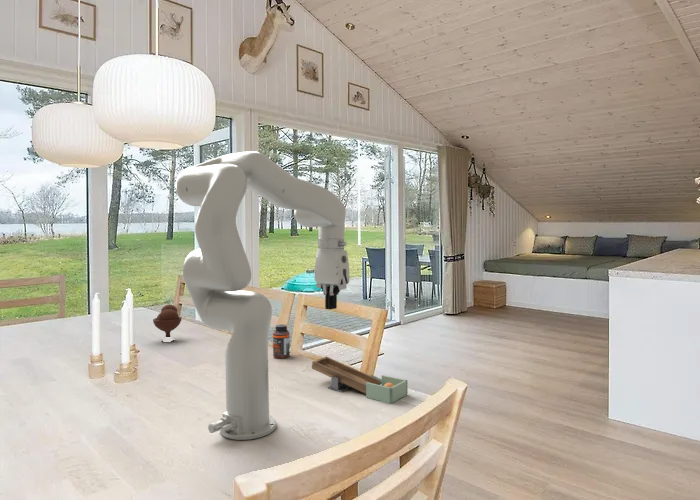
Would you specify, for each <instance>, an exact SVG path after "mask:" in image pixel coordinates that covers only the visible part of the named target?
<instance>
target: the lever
mask: <svg viewBox="0 0 700 500" xmlns="http://www.w3.org/2000/svg"><path fill="white" fill-rule="evenodd" d="M311 370H314V371H316V372H319V373H321V374H323V375H325V376H326V377H329V378H331V377H333V376H335V377H339V378H340V382H342V383H344V384H346V385H348V386H350V387H352V388H353V389H355V390H357V391H359V392H361V393H363V394H365V395H366V383H367V382H368V383H373V384H377V385H381V386H382V378H381V377H380V378H379V377H377V376H375V375H372V374H371V375H370V374H368V373H364V372H363V371H360V370H358V369H355V367H351V366H349V365H347V364H344V363H342V362H339V361H337V360H335V359H333V358H331V357H328V356H324V357H321V358H319V359H318V358H317V359H315V360H313V361H312V363H311ZM352 388H351V389H352Z"/></svg>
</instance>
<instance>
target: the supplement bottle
mask: <svg viewBox="0 0 700 500" xmlns="http://www.w3.org/2000/svg"><path fill="white" fill-rule="evenodd" d="M290 336H291V335H290V331H289V330H288V327H287V324H283V323H282V324H276V325H275V330H274V331H273V333H272V355H273V358H276V359H285V358H286V357H287V358H289V357H290V356H291V354H290V353H291V352H290V351H291V350H290V349H291V348H290V346H291V345H290V343H291V342H290V340H291V338H290Z"/></svg>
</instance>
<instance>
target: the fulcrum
mask: <svg viewBox="0 0 700 500" xmlns="http://www.w3.org/2000/svg"><path fill="white" fill-rule="evenodd" d="M330 379H331V385H330V386H327V390H332V391H335V392H340V393H343V392H345V391H347V389H348V390H350V389H352V388H351V387H350V386H348V385H346V384H344V383H342V382H340V378H339V377H335V376H333V377H330ZM349 388H350V389H349Z"/></svg>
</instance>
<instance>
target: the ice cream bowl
mask: <svg viewBox="0 0 700 500" xmlns="http://www.w3.org/2000/svg"><path fill="white" fill-rule="evenodd" d="M152 322H153V324H154V326H155V327H156V328H157V329H158V330H160V331H162V332H164V333H165V337H171V332H172V331H174V330H175V329H177V328H178V327H179V326H180V324H181V323H182V316H179V314H178V309H177V306H175V305H173V304H166V305H164V306H163V307H162V308H161V311H160V312H159V314H158V315H157V317H155V318H153V319H152Z"/></svg>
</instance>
